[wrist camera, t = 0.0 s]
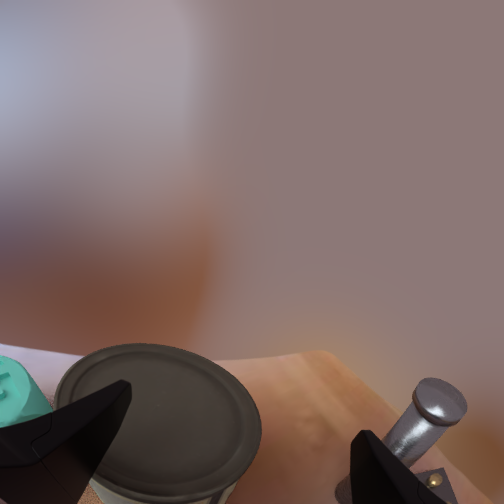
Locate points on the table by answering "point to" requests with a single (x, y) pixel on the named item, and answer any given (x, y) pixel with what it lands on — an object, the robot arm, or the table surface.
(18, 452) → the robot arm
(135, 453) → the coffee can
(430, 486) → the riveted post bracket
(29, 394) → the teal rolled towel
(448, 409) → the link pin
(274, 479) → the table surface
